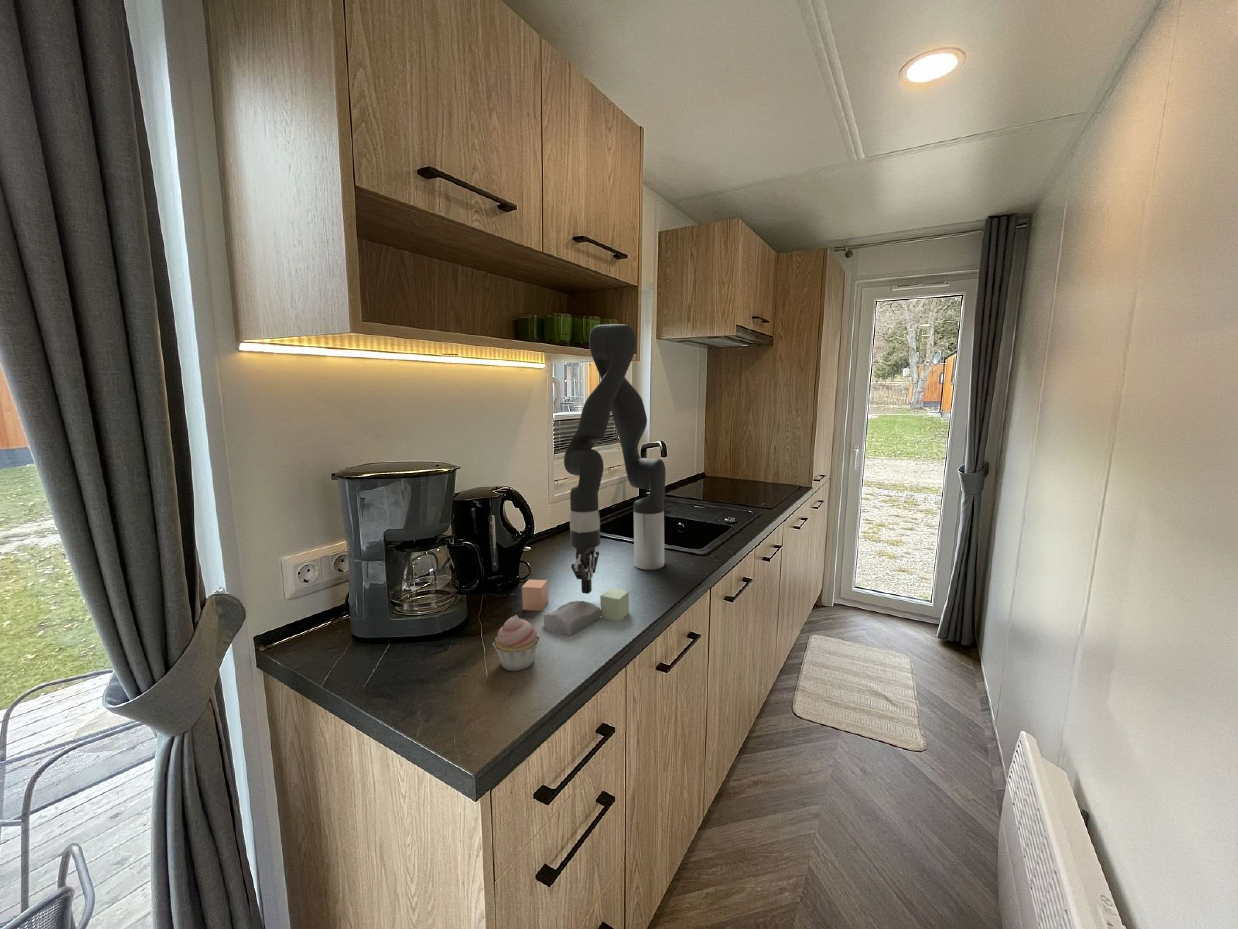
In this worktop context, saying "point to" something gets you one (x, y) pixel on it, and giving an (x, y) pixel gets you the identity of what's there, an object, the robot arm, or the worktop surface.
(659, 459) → the robot arm
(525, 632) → the cupcake
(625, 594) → the sage block
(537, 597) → the terracotta block
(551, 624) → the stone block
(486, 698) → the worktop surface
